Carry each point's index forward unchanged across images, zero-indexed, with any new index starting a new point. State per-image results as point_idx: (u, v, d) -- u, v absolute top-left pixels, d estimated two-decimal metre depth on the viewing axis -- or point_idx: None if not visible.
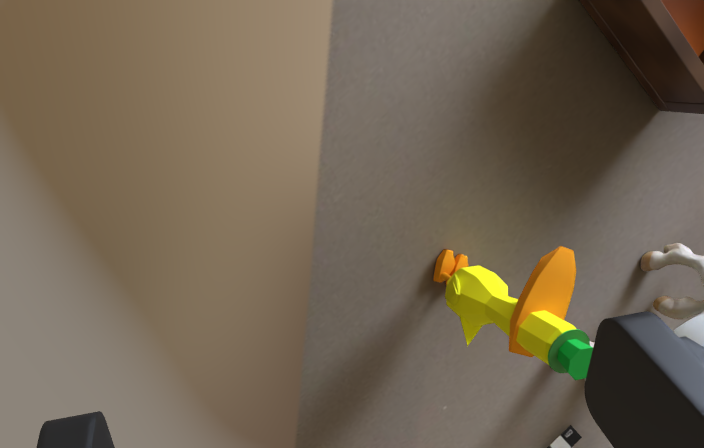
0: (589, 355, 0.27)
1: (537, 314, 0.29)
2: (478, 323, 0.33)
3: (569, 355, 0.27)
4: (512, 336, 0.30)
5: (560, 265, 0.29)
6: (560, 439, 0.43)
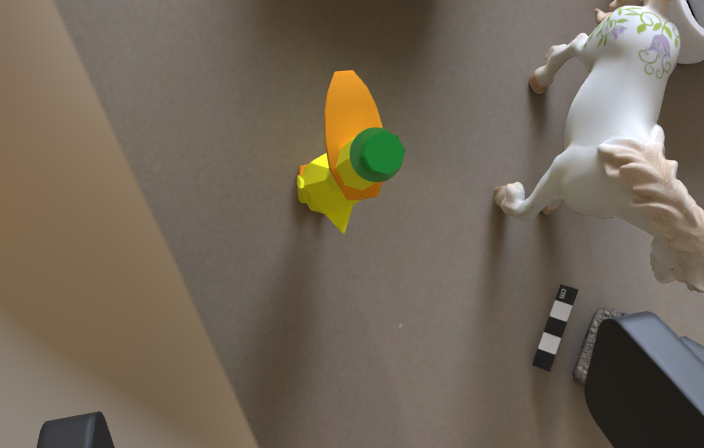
0: (385, 141, 0.24)
1: None
2: (338, 205, 0.30)
3: None
4: (338, 183, 0.27)
5: (344, 89, 0.27)
6: (557, 303, 0.38)
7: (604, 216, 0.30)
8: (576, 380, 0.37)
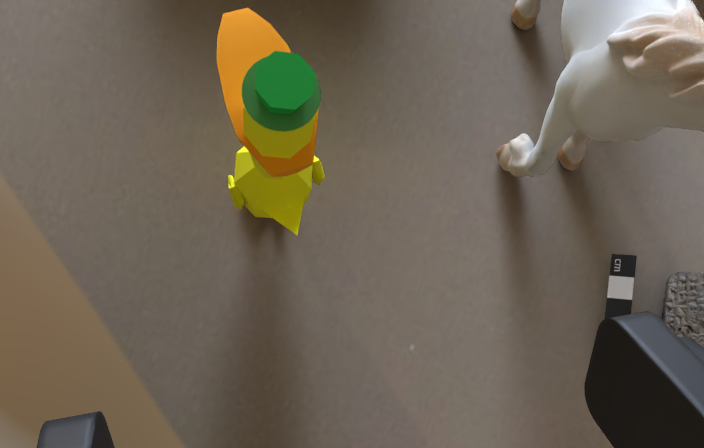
0: (282, 64, 0.16)
1: None
2: (281, 198, 0.23)
3: None
4: (254, 155, 0.19)
5: (239, 32, 0.20)
6: (614, 279, 0.29)
7: (641, 134, 0.22)
8: None
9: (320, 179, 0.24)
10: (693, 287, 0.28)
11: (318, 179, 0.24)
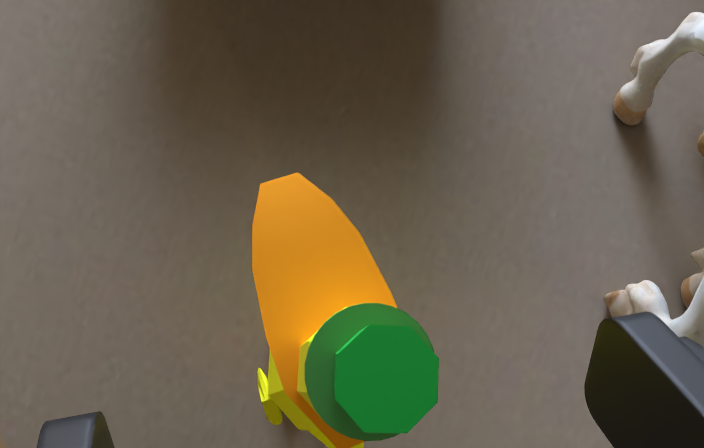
0: (382, 348, 0.09)
1: None
2: None
3: None
4: (311, 419, 0.12)
5: (286, 216, 0.13)
6: None
7: None
8: None
9: None
10: None
11: None
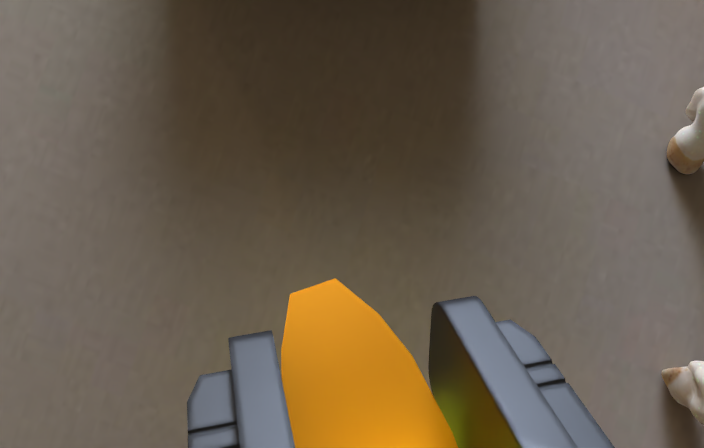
0: None
1: None
2: None
3: None
4: None
5: (323, 336, 0.10)
6: None
7: None
8: None
9: None
10: None
11: None
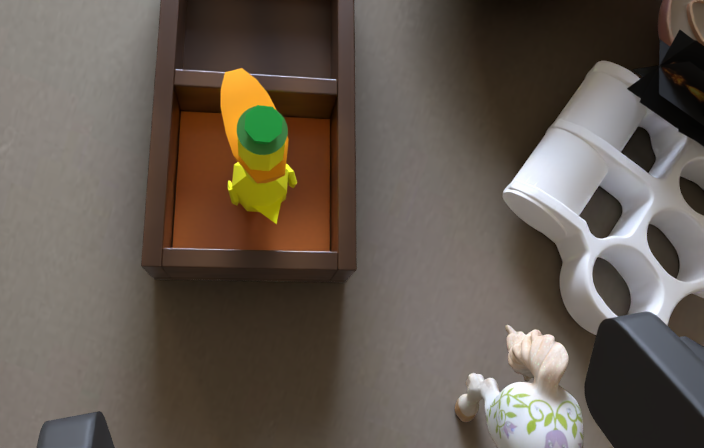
0: (262, 113, 0.26)
1: None
2: (265, 198, 0.32)
3: None
4: (245, 168, 0.29)
5: (236, 85, 0.29)
6: None
7: None
8: None
9: (293, 184, 0.34)
10: None
11: (292, 184, 0.34)
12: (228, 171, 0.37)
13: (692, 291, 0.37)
